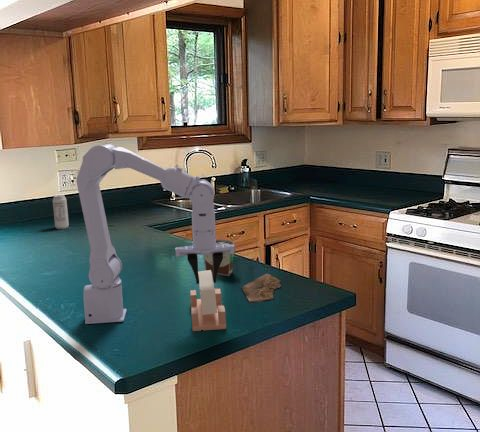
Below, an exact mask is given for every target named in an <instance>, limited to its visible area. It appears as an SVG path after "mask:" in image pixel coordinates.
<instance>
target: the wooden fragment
mask: <svg viewBox="0 0 480 432" xmlns="http://www.w3.org/2000/svg"><path fill="white" fill-rule="evenodd" d="M281 283H282V281H281V280H280V279H278V278H277V277H276V276H275V277H274V276H272V274H269V273H265V274H263V275H261V276H259V277H257V278H255V279H252V280H250V281H249V282H247V283H246V284H245V285H243V286H242V287H241V288H240V289H241V290H242V292H243V294H244V295H245V297H246V299H247V300H248V303H261V302H265V301H270V300H274V293H275V290H278V289H279V288H281V287H282V285H281Z"/></svg>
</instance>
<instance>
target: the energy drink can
mask: <svg viewBox="0 0 480 432" xmlns="http://www.w3.org/2000/svg"><path fill="white" fill-rule="evenodd" d="M52 208H53V209H52V210H53V216H54V217H53V219H54V226H55V228H56V229H57V230H65V229H67V228H69V226H70V225H69V213H68V212H69V211H68V203H67V198H66V196H65V195H64V194H58V195H53V198H52Z"/></svg>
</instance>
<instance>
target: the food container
mask: <svg viewBox="0 0 480 432" xmlns="http://www.w3.org/2000/svg"><path fill="white" fill-rule="evenodd" d="M216 244H225V245H231V244H233V245H234V252H235V251H236V246H235V242H234V241H232V240H229V239H222V238H221V239H219V238H218V239H217V238H216ZM203 260H204V268H205V270H204V271H206V270H211V272H212V274H213V259H212V254H205V255H203ZM233 266H234V254H230V253H223V260H222V262H221V264H220V267H219V269H218V273H217V275H221V276H228V277H230V276H232V274H233Z"/></svg>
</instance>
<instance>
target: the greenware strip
mask: <svg viewBox="0 0 480 432" xmlns="http://www.w3.org/2000/svg"><path fill="white" fill-rule="evenodd" d="M198 275H199V284H198V286H199V296H200V299H201V305H202V314H203V315H206V314H214V313H217V306H216V295H215V289H216V288H215V283H214V282H213V273H212V272H211V270H200V271H199V270H198Z"/></svg>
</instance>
